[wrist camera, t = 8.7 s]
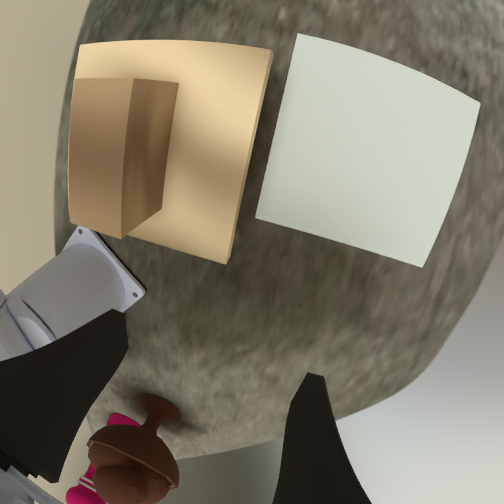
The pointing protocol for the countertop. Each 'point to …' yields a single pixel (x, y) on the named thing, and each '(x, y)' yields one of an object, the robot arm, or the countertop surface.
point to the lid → (164, 140)
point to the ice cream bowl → (135, 457)
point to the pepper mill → (84, 495)
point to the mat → (365, 151)
